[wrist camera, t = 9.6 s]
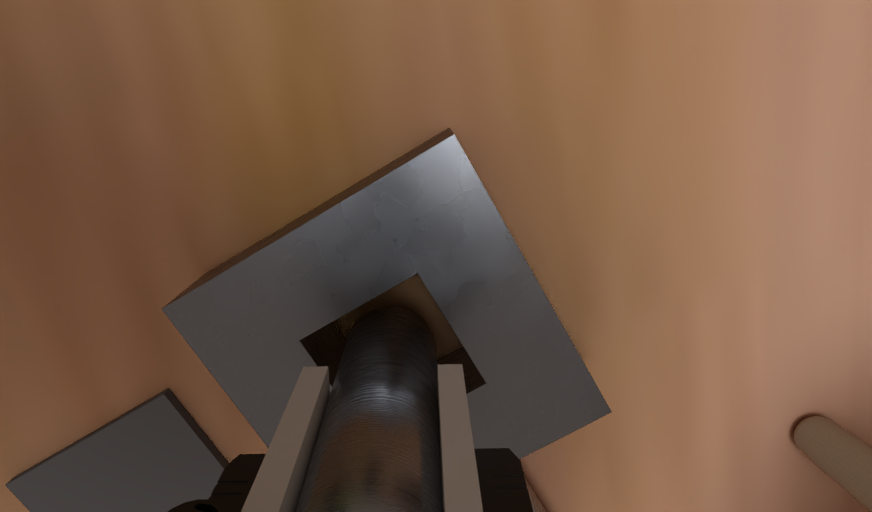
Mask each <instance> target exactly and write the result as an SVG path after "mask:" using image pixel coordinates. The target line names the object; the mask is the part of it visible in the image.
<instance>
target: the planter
mask: <svg viewBox="0 0 872 512" xmlns="http://www.w3.org/2000/svg"><path fill="white" fill-rule="evenodd" d="M794 442H795V444H796V446H797V447H798V449H799V450H800V451H802V452H803V453H804V454H805V455H806V456H807V457H808V458H809V459H810V460H812V461H813V462H814V463H815V464H816V465H817V466H818V467H819V468H820V469H822V470H823V471H824V472H825V473H826V474H827V475H828V476H830V477H831V478H832V479H833V480H834V481H835V482H837V483H838V484H839V485H840V486H841V487H842V488H844V489H845V490H846V491H847V492H848V493H849V494H851V495H852V496H853V497H854V498H855V499H856V500H858V501H859V502H860V503H861V504H862V505H863V506H865V507H866V508H867V509H868V510H869V511H870V512H872V447H871V446H869V445H868V444H866V443H865V442H863V441H862V440H860V439H859V438H857V437H856V436H854V435H853V434H851V433H850V432H848V431H847V430H845V429H844V428H842V427H841V426H839V425H837V424H836V423H834V422H833V421H831V420H830V419H828V418H825V417H822V416H812V417H808V418H806V419H804V420H802V421H801V422H800V423H799V424H798V425H797V426H796V428H795V431H794Z"/></svg>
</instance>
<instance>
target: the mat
mask: <svg viewBox="0 0 872 512" xmlns="http://www.w3.org/2000/svg"><path fill="white" fill-rule="evenodd" d="M228 464H229V463H228V462H227V461H226V460H225V458H224V457H223V456H222V455H221V453H220V452H219V451H218V450H217V448H216V447H215V446H214V445H213V443H212V442H211V441H210V440H209V438H208V437H207V436H206V435H205V433H204V432H203V431H202V430H201V428H200V427H199V426H198V425H197V423H196V422H195V421H194V420H193V418H192V417H191V416H190V415H189V413H188V412H187V411H186V410H185V408H184V407H183V406H182V405H181V403H180V402H179V401H178V400H177V398H176V397H175V396H174V395H173V393H172V392H171V391H170V390H169V389H167V390H165V391H164V392H162V393H160V394H158V395H157V396H155V397H153V398H151V399H150V400H148V401H146V402H144V403H143V404H141V405H139V406H138V407H136V408H134V409H132V410H131V411H129V412H127V413H125V414H124V415H122V416H120V417H118V418H117V419H115V420H113V421H111V422H110V423H108V424H106V425H104V426H103V427H101V428H99V429H98V430H96V431H94V432H92V433H91V434H89V435H87V436H85V437H84V438H82V439H80V440H78V441H77V442H75V443H73V444H71V445H70V446H68V447H66V448H64V449H63V450H61V451H59V452H58V453H56V454H54V455H52V456H51V457H49V458H47V459H45V460H44V461H42V462H40V463H38V464H37V465H35V466H33V467H31V468H30V469H28V470H26V471H24V472H23V473H21V474H19V475H18V476H16V477H14V478H13V479H11V480H10V481H9V482H8V483H7V484H6V486H7V488H8V489H9V490H10V491H11V492H12V493H13V494H14V495H15V496H16V497H17V498H18V499H19V500H20V501H21V502H22V504H23V505H24V506H25V507H26V508H27V509H28V510H29V511H30V512H168V511H169V510H170V509H172V508H174V507H176V506H178V505H180V504H182V503H185V502H189V501H193V500H198V499H209V497H211V493H212V491H213V489H214V487H215V486H216V485H217V482H218V480H219V478H220V476H221V474H222V472H223V470H224V468H225V467H226V466H227V465H228Z"/></svg>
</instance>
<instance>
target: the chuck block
mask: <svg viewBox="0 0 872 512" xmlns="http://www.w3.org/2000/svg"><path fill="white" fill-rule="evenodd" d="M417 273H418V275H419V276H420V278H421V279H422V281H423V283H424V284H425V286H426V287H427V289H428V291H429V292H430V294H431V295H432V297H433V299H434V300H435V302H436V303H437V305H438V307H439V308H440V310H441V311H442V313H443V315H444V316H445V318H446V319H447V321H448V323H449V324H450V326H451V327H452V329H453V331H454V332H455V334H456V335H457V337H458V339H459V340H460V342H461V343H462V345H463V348H461V349H459V350H457V351H455V352H453V353H452V354H450V355H448V356H446V357H444V358H442V359H441V360H439V361H437V371H438V365H441V364H462V366H463V373H464V380H465V387H466V395H467V402H468V409H469V416H470V423H471V430H472V437H473V444H474V449H480V448H509V449H510V450H511V451H512V452H513V453H514V454H515V455H516V456H517V457H518V458H519V459H521V458H523V457H524V456H526V455H528V454H530V453H532V452H534V451H536V450H538V449H540V448H542V447H544V446H546V445H548V444H550V443H552V442H554V441H556V440H558V439H560V438H562V437H564V436H566V435H568V434H570V433H572V432H574V431H576V430H577V429H579V428H581V427H583V426H585V425H587V424H589V423H591V422H593V421H595V420H597V419H599V418H601V417H603V416H605V415H607V414H609V413H611V410H610V408H609V406H608V405H607V403H606V401H605V399H604V398H603V396H602V394H601V392H600V391H599V389H598V387H597V385H596V383H595V382H594V380H593V378H592V376H591V375H590V373H589V371H588V369H587V368H586V366H585V364H584V362H583V361H582V359H581V357H580V355H579V353H578V352H577V350H576V348H575V346H574V345H573V343H572V341H571V339H570V338H569V336H568V334H567V332H566V331H565V329H564V327H563V325H562V323H561V322H560V320H559V318H558V316H557V315H556V313H555V311H554V309H553V308H552V306H551V304H550V302H549V301H548V299H547V297H546V295H545V293H544V292H543V290H542V288H541V286H540V285H539V283H538V281H537V279H536V278H535V276H534V274H533V272H532V271H531V269H530V267H529V265H528V264H527V262H526V260H525V258H524V256H523V255H522V253H521V251H520V249H519V248H518V246H517V244H516V242H515V241H514V239H513V237H512V235H511V234H510V232H509V230H508V228H507V226H506V225H505V223H504V221H503V219H502V218H501V216H500V214H499V212H498V211H497V209H496V207H495V205H494V204H493V202H492V200H491V198H490V196H489V195H488V193H487V191H486V189H485V188H484V186H483V184H482V182H481V181H480V179H479V177H478V175H477V174H476V172H475V170H474V168H473V167H472V165H471V163H470V161H469V159H468V158H467V156H466V154H465V152H464V151H463V149H462V147H461V145H460V144H459V142H458V140H457V138H456V137H455V135H454V133H453V132H452V130H451V129H450V128H448V129H446V130H445V131H443V132H441V133H440V134H438V135H436V136H435V137H433V138H431V139H430V140H428V141H426V142H425V143H423V144H421V145H420V146H418V147H416V148H415V149H413V150H411V151H410V152H408V153H406V154H405V155H403V156H401V157H400V158H398V159H396V160H395V161H393V162H391V163H390V164H388V165H386V166H385V167H383V168H381V169H380V170H378V171H376V172H375V173H373V174H371V175H370V176H368V177H366V178H365V179H363V180H361V181H360V182H358V183H356V184H355V185H353V186H351V187H350V188H348V189H346V190H345V191H343V192H341V193H340V194H338V195H336V196H335V197H333V198H331V199H329V200H328V201H326V202H324V203H323V204H321V205H319V206H318V207H316V208H314V209H313V210H311V211H309V212H308V213H306V214H304V215H303V216H301V217H299V218H298V219H296V220H294V221H293V222H291V223H289V224H288V225H286V226H284V227H283V228H281V229H279V230H278V231H276V232H274V233H273V234H271V235H269V236H268V237H266V238H264V239H263V240H261V241H259V242H258V243H256V244H254V245H253V246H251V247H249V248H248V249H246V250H244V251H243V252H241V253H239V254H238V255H236V256H234V257H233V258H231V259H229V260H228V261H226V262H224V263H223V264H221V265H219V266H218V267H216V268H214V269H213V270H211V271H209V272H208V273H206V274H204V275H203V276H202V277H200V278H199V279H198V280H197V281H195V282H194V283H193V284H192V285H191V286H189V287H188V288H187V289H186V290H184V291H183V292H182V293H181V294H179V295H178V296H177V297H176V298H175V299H173V300H172V301H171V302H170V303H168V304H167V305H166V306H165V307H163V308H162V310H163V312H164V313H165V314H166V315H167V317H168V318H169V319H170V321H171V322H172V323H173V325H174V326H175V327H176V328H177V330H178V331H179V332H180V334H181V335H182V336H183V338H184V339H185V340H186V341H187V343H188V344H189V345H190V347H191V348H192V349H193V351H194V352H195V353H196V354H197V356H198V357H199V358H200V360H201V361H202V362H203V364H204V365H205V366H206V367H207V369H208V370H209V371H210V373H211V374H212V375H213V377H214V378H215V379H216V380H217V382H218V383H219V384H220V386H221V387H222V388H223V390H224V391H225V392H226V393H227V395H228V396H229V397H230V399H231V400H232V401H233V402H234V404H235V405H236V406H237V408H238V409H239V410H240V412H241V413H242V414H243V415H244V417H245V418H246V419H247V421H248V422H249V423H250V425H251V426H252V427H253V428H254V430H255V431H256V432H257V434H258V435H259V436H260V438H261V439H262V440H263V441H264V443H265V444H266V445H267V447H268V448H269V446H270V443H271V441H272V439H273V436H274V434H275V432H276V429H277V427H278V425H279V422H280V420H281V418H282V415H283V413H284V411H285V408H286V406H287V404H288V401H289V399H290V397H291V394H292V392H293V390H294V387H295V385H296V383H297V380H298V378H299V376H300V373H301V371H302V369H303V367H319V366H328V370H329V385H330V394H331V391H332V387H333V384H334V381H335V377H336V374H337V371H338V367H339V364H340V361H341V358H342V354H343V351H344V348H345V344H346V341H345V340H344V338H343V337H342V335H341V334H340V332H339V331H338V329H337V328H336V326H335V325H334V324H333V321H334V320H336V319H338V318H340V317H342V316H343V315H345V314H347V313H349V312H350V311H352V310H354V309H356V308H357V307H359V306H361V305H363V304H364V303H366V302H368V301H370V300H371V299H373V298H375V297H377V296H378V295H380V294H382V293H384V292H386V291H387V290H389V289H391V288H393V287H394V286H396V285H398V284H400V283H401V282H403V281H405V280H407V279H408V278H410V277H412V276H414V275H415V274H417ZM525 481H526V485H527V489H528V493H529V497H530V500H531V504H532V508H533V512H547V511H546V510H545V508H544V507H543V505H542V504H541V502H540V500H539V499H538V497H537V496H536V494H535V493H534V491H533V489H532V488H531V486H530V485H529V483H528V482H527V480H526V478H525Z"/></svg>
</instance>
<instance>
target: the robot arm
mask: <svg viewBox="0 0 872 512" xmlns="http://www.w3.org/2000/svg"><path fill="white" fill-rule="evenodd" d="M329 397H330V385H329V370H328V366H319V367H303V369H302V371H301V373H300V376H299V378H298V380H297V383H296V385H295V387H294V390H293V392H292V394H291V397H290V399H289V401H288V404H287V406H286V408H285V411H284V413H283V415H282V418H281V420H280V422H279V425H278V427H277V429H276V432H275V434H274V436H273V439H272V441H271V443H270V446H269V448H268V450H267V453H266V454H240V455H239V456H237V457H236V458H235V459H234V460H233V461H232V462H231V463H229V464H228V465H227V466H226V467H225V468H224V470H223V472H222V474H221V476H220V478H219V480H218V482H217V485H216V486H215V487H214V489H213V491H212V493H211V497H209V499H198V500H193V501H189V502H185V503H182V504H180V505H178V506H176V507H174V508H172V509H170V510H169V511H168V512H295V509H296V506H297V503H298V499H299V496H300V493H301V490H302V486H303V483H304V480H305V476H306V473H307V470H308V466H309V463H310V460H311V457H312V453H313V450H314V447H315V443H316V440H317V437H318V433H319V430H320V427H321V424H322V420H323V417H324V414H325V410H326V407H327V404H328V400H329ZM438 410H439V431H440V452H441V473H442V494H443V512H533V508H532V504H531V500H530V497H529V493H528V489H527V485H526V481H525V477H524V474H523V470H522V466H521V462H520V460H519V458H518V457H517V456H516V455H515V454H514V453H513V452H512V451H511V450H510V449H509V448H480V449H474V444H473V437H472V430H471V423H470V416H469V409H468V402H467V395H466V387H465V380H464V373H463V366H462V364H441V365H438Z"/></svg>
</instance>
